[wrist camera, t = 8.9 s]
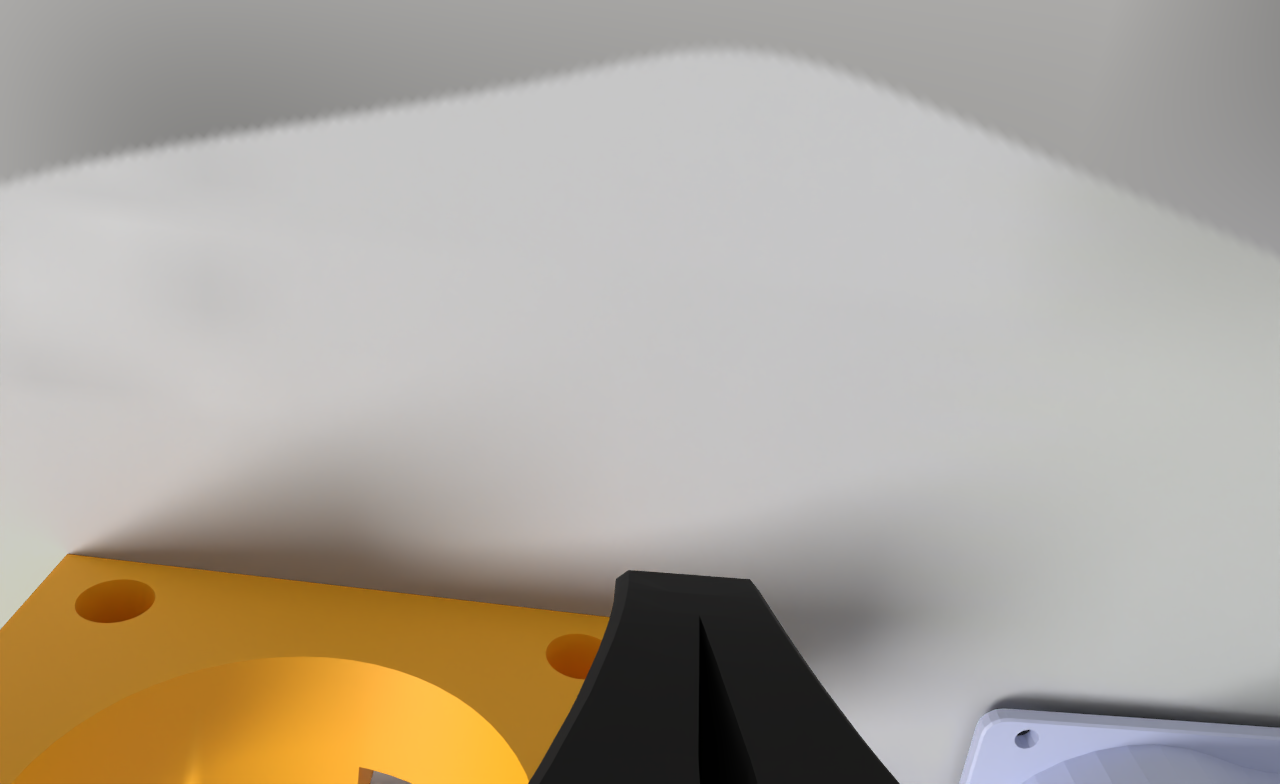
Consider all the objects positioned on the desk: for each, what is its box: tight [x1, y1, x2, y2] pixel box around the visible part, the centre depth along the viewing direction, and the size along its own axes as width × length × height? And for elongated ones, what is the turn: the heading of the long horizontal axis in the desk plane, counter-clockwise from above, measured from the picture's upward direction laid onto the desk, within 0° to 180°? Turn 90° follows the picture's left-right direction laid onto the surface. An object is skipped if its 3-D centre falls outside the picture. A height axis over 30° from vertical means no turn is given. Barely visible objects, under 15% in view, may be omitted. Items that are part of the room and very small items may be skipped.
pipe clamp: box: [0, 554, 610, 784], centre depth 19 cm, size 12×4×6 cm, turn 81°
